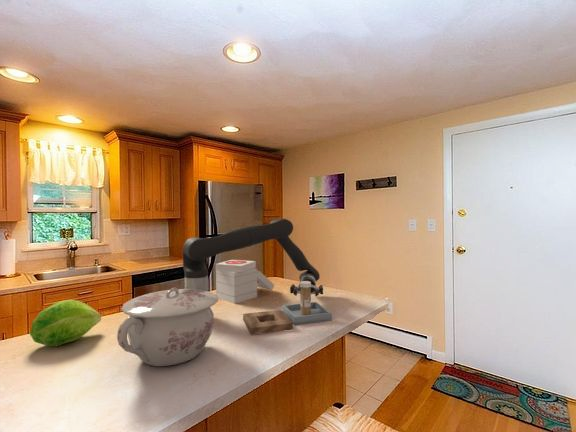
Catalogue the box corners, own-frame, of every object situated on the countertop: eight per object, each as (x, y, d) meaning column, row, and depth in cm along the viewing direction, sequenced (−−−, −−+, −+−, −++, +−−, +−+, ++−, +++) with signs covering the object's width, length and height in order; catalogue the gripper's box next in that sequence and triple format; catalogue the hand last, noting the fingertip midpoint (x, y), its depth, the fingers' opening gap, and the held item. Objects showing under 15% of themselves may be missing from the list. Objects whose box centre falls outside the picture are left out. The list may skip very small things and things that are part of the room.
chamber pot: (208, 331, 110) (207, 275, 110) (228, 364, 86) (228, 293, 85) (121, 346, 97) (121, 283, 97) (116, 391, 73) (116, 307, 73)
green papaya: (110, 336, 105) (109, 298, 105) (37, 359, 89) (37, 313, 89) (92, 326, 114) (92, 291, 114) (23, 345, 98) (23, 304, 98)
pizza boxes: (277, 292, 163) (277, 259, 163) (233, 305, 140) (233, 267, 140) (253, 286, 176) (253, 256, 175) (209, 297, 153) (209, 262, 153)
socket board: (250, 335, 106) (250, 328, 106) (243, 319, 122) (243, 313, 122) (293, 329, 111) (293, 323, 111) (280, 315, 127) (280, 309, 127)
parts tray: (294, 325, 116) (294, 317, 116) (282, 312, 131) (282, 305, 131) (331, 320, 121) (331, 313, 121) (315, 308, 136) (315, 301, 136)
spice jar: (309, 316, 123) (309, 283, 123) (299, 314, 125) (298, 282, 124) (312, 312, 128) (312, 281, 127) (301, 311, 129) (301, 280, 129)
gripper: (292, 276, 141) (288, 284, 125) (323, 276, 139) (323, 285, 123) (292, 291, 141) (288, 302, 125) (323, 292, 139) (323, 303, 123)
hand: (305, 293), depth 124 cm, fingers open, 8 cm apart
